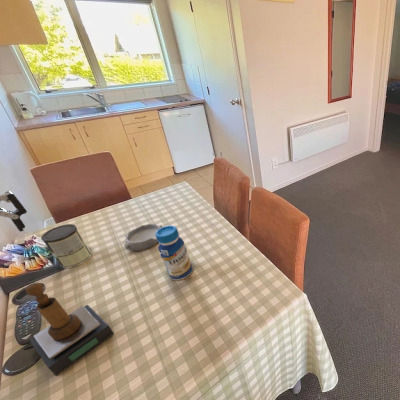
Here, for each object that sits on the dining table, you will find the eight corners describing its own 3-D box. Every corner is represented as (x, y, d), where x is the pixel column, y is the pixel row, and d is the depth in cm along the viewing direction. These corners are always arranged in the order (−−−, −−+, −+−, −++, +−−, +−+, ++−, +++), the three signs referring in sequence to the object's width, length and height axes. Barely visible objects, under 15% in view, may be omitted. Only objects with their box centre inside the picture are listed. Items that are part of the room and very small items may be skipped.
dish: (165, 229, 126) (162, 220, 123) (160, 247, 114) (156, 238, 112) (131, 235, 122) (127, 227, 119) (122, 255, 110) (117, 246, 108)
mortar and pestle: (57, 323, 77) (21, 279, 68) (84, 315, 79) (53, 272, 70) (47, 343, 72) (7, 299, 63) (77, 334, 74) (42, 290, 65)
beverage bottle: (185, 261, 107) (171, 221, 97) (198, 270, 102) (184, 228, 92) (165, 274, 101) (147, 232, 91) (177, 284, 96) (159, 241, 86)
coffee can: (53, 267, 105) (33, 239, 98) (77, 250, 114) (60, 223, 107) (75, 269, 104) (57, 241, 96) (98, 252, 112) (82, 224, 105)
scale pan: (50, 359, 69) (49, 357, 69) (34, 337, 74) (33, 335, 74) (100, 324, 78) (99, 323, 77) (83, 307, 83) (82, 305, 82)
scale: (56, 377, 70) (47, 367, 67) (37, 348, 77) (27, 338, 74) (114, 334, 80) (108, 324, 78) (93, 312, 87) (86, 302, 84)
